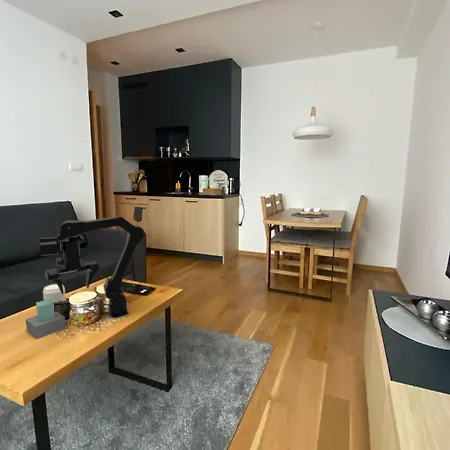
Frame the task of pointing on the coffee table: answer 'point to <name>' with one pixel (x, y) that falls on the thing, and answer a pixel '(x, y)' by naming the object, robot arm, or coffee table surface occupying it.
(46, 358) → the coffee table surface
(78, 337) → the coffee table surface
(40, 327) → the charcoal box
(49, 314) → the teal block
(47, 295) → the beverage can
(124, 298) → the robot arm
